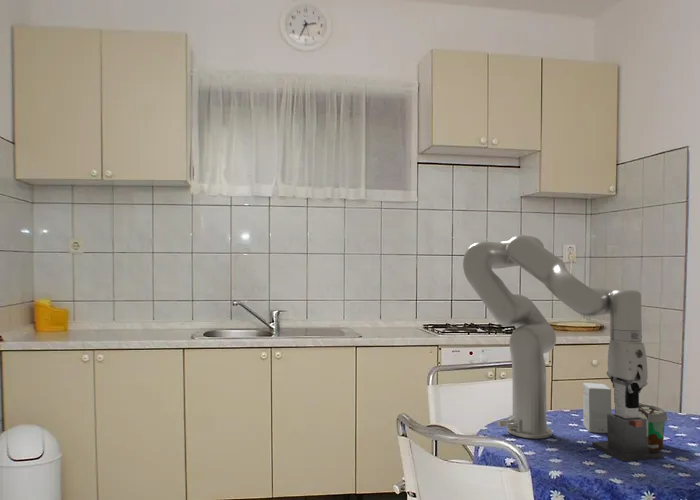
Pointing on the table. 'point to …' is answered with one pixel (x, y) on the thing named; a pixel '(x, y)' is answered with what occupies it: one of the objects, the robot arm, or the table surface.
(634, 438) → the stand
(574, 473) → the table surface
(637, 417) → the column
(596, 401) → the small box
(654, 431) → the food container
